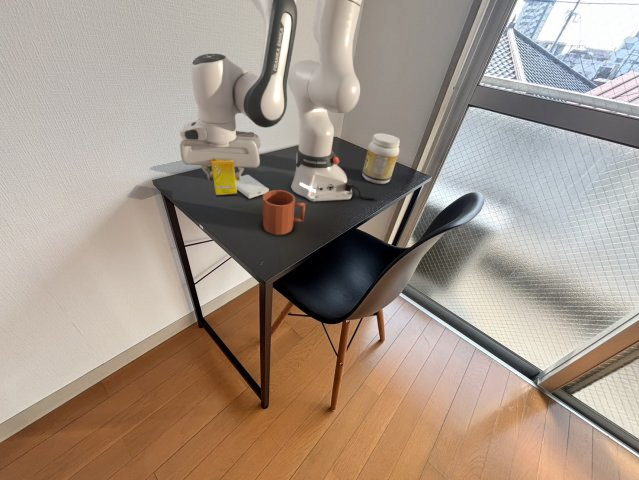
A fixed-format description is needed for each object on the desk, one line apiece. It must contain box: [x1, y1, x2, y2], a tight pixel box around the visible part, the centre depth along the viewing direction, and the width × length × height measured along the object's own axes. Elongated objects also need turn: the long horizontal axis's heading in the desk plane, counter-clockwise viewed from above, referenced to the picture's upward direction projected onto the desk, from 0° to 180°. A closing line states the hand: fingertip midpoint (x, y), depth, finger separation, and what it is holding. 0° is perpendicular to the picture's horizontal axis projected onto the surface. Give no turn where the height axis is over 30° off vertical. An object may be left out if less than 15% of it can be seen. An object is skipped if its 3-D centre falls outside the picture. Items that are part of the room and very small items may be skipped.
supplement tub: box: [361, 132, 401, 185], centre depth 109 cm, size 12×12×17 cm
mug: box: [262, 189, 306, 236], centre depth 77 cm, size 12×9×10 cm
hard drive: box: [236, 174, 270, 199], centre depth 94 cm, size 2×8×12 cm
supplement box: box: [210, 159, 238, 198], centre depth 78 cm, size 6×6×11 cm
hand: (224, 179), depth 78 cm, fingers closed on supplement box, 6 cm apart
